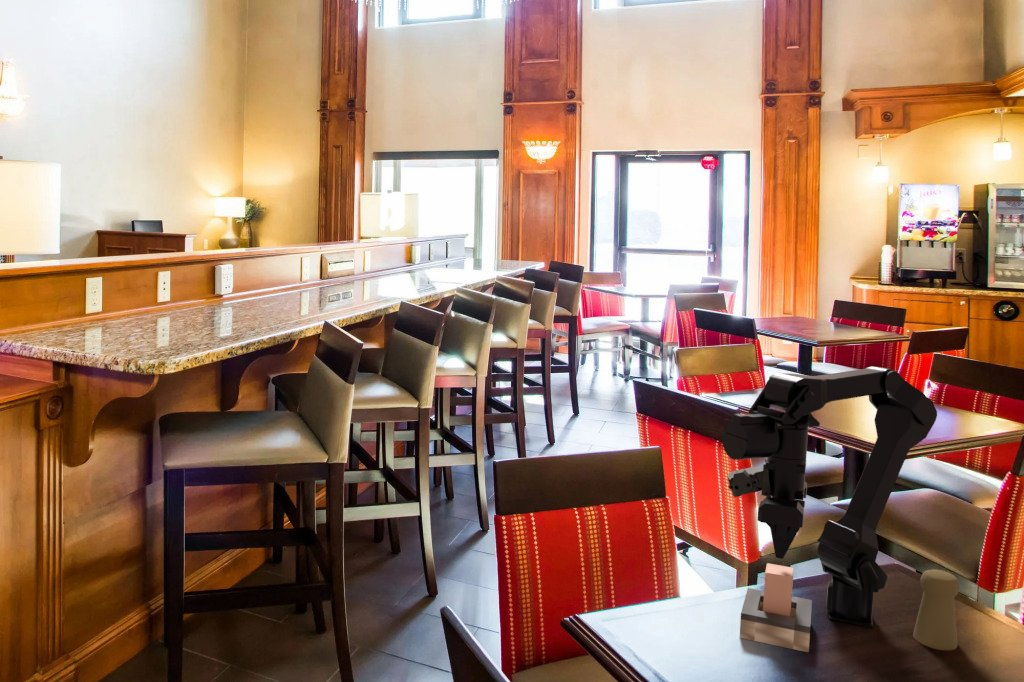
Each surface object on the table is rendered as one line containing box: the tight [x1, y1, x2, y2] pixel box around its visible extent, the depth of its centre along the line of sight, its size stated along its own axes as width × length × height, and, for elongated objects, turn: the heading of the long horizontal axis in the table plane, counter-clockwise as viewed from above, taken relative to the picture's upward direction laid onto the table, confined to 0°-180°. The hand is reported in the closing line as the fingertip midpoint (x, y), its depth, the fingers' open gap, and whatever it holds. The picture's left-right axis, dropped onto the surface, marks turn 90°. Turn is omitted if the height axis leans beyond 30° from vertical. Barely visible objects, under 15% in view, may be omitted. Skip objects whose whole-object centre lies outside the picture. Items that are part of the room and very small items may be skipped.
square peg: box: [763, 562, 795, 617], centre depth 115 cm, size 4×4×10 cm
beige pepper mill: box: [912, 569, 960, 651], centre depth 112 cm, size 6×6×11 cm
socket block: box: [739, 587, 813, 653], centre depth 115 cm, size 10×10×4 cm
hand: (780, 551), depth 114 cm, fingers open, 5 cm apart
